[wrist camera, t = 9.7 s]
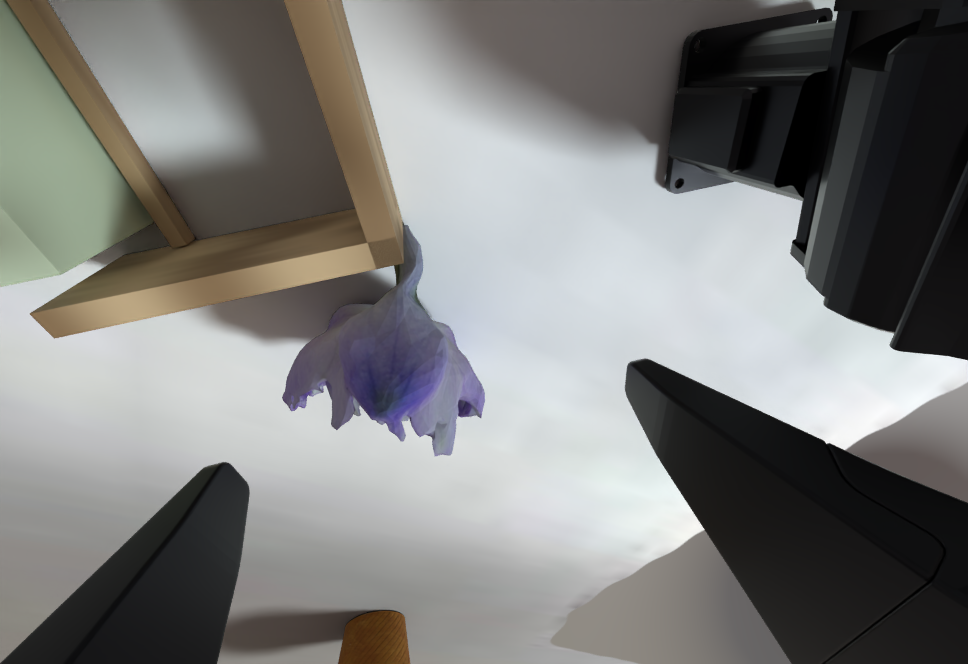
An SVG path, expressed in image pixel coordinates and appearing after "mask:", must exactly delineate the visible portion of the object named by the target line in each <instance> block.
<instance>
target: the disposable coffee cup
mask: <svg viewBox="0 0 968 664" xmlns="http://www.w3.org/2000/svg"><path fill="white" fill-rule="evenodd" d="M338 664H410V658H409V650H408V641H407V632H406V624H405V617H404V616H403V615H402V614H400V613H398V612H394V611H377V612H371V613H366V614H363V615H361V616H358V617H356V618H354V619H353V620H351V621H350V622H349V623H348V624H347V625H346V627H345V632H344V637H343V642H342V647H341V652H340V657H339V662H338Z"/></svg>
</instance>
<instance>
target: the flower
mask: <svg viewBox="0 0 968 664" xmlns="http://www.w3.org/2000/svg"><path fill="white" fill-rule="evenodd" d="M403 254H404V263H403V264H398V265H394V268H395V273H396V286H395V287H394V288H393V289H391V290H390V291H388V292H387V293H386V294H385V295H384V296H383V297H382V298H381V299H380V300H379V301H378V302H377V303H376V304H375V305H370V304H348V305H345V306H343V307H340V308H339V309H338V310H337V311H336V312H335V313H334V315H333V316H332V318H331V320H330V322H329V326H328V329H327V331H326V332H325V333H323V334H321V335H320V336H318V337H316V338H314V339H313V340H312V341H310V342H309V343H307V344H306V345H305V346H304V348H303V349H302V350H301V351H300V352H299V354H298V355H297V357H296V359H295V361H294V363H293V365H292V367H291V370H290V372H289V374H288V377H287V381H286V389H285V392H284V394H283V397H282V398H283V401H284V402H285V403H286V404H287V405H288V407H289V408H290V410H291V411H295V410H296V409H297V408H298V406H299V407H302V408H305V406H306V401H307V396H308V395H309V396H314V395H316V394H319V393H322V392H323V386H325V385H326V386H327V389H328V391H329V394H330V397H331V399H332V421H331V425H332V427H334V428H335V429H336V430H338V429H339V428H340V427H341V426H342V425H343V424H345V423H346V422H348V421H349V420H350V419H351V417H352V416H353V414H354V415H356V416H360V415H361V414H360V409H359V406H361V407H362V408H363V409H364V411H365V412H366V413H367V414H368V415H369V417H370V418H371V419H372V420H376V421H377V423H379V424H381V425H383V424H384V423H386V424H387V426H388V428H389V431H391V432H392V433H394V434H395V435H396V436H397V437H398V438H399V439H400V441H404V439H405V436H406V435H405V432H404V428H403V425H402V422H401V421H408V419H409V418H410V421H411V424H412V427H413V429H414V430H415V432H416V434H417V435H418V436H420V437H421V436H423V435H428V436H431V437H432V438H433V440H432V445H433V449H434V454H435V456H438V455H442V454H443V455H451V454H452V450H453V445H454V439H455V432H456V419H457V416H459V417H469V416H475V415H477V416H478V417H480V418H481V416H482V411H483V406H484V402H485V393H484V389H483V387H482V384H481V383H480V381H479V380H478V378H477V376H476V375H475V373H474V371H473V369H472V367H471V365H470V363H469V361H468V360H467V358H466V357H465V356H464V355H463V354H462V353H461V351H460V350H459V349H458V347H457V345H456V341H455V338H454V334H453V332H452V330H451V329H450V327H449V326H447V325H445V324H443V323H440V322H436V321H433V320H431V319H430V317H429V316H428V314H427V313H426V311H425V310H424V308H423V307H422V305H421V304H420V302H419V300H418V298H417V293H416V290H417V285H418V283H419V280H420V278H421V275H422V271H423V259H422V252H421V247H420V244H419V243H418V241H417V240H416V239H415V237H414V236H413V234H412V233H411V231H410V229H409V226H408V225H404V226H403Z"/></svg>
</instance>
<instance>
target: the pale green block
mask: <svg viewBox="0 0 968 664" xmlns="http://www.w3.org/2000/svg"><path fill="white" fill-rule="evenodd" d="M152 223H154V220H153V219H152V217H151V216H150V214H149V213H148V211H147V210H146V208H145V207H144V205H143V204H142V202H141V201H140V199H139V198H138V196H137V195H136V193H135V192H134V190H133V189H132V187H131V186H130V184H129V183H128V181H127V180H126V178H125V177H124V175H123V174H122V172H121V171H120V169H119V168H118V166H117V165H116V163H115V162H114V160H113V159H112V158H111V156H110V155H109V153H108V152H107V150H106V149H105V147H104V146H103V144H102V143H101V141H100V140H99V138H98V137H97V135H96V134H95V132H94V131H93V129H92V128H91V126H90V125H89V123H88V122H87V120H86V119H85V117H84V116H83V114H82V113H81V111H80V110H79V108H78V107H77V105H76V104H75V102H74V101H73V99H72V98H71V96H70V95H69V93H68V92H67V90H66V89H65V87H64V86H63V84H62V83H61V81H60V80H59V78H58V77H57V75H56V74H55V72H54V71H53V69H52V68H51V66H50V65H49V63H48V62H47V61H46V59H45V58H44V56H43V55H42V53H41V52H40V50H39V49H38V47H37V46H36V44H35V43H34V41H33V40H32V38H31V37H30V35H29V34H28V32H27V31H26V29H25V28H24V26H23V25H22V23H21V22H20V20H19V19H18V17H17V16H16V14H15V13H14V11H13V10H12V8H11V7H10V5H9V4H8V2H7V1H6V0H0V287H3V286H8V285H13V284H17V283H22V282H27V281H32V280H37V279H42V278H47V277H52V276H57V275H61V274H63V273H65V272H67V271H68V270H70V269H72V268H74V267H76V266H77V265H79V264H81V263H83V262H84V261H86V260H88V259H90V258H92V257H93V256H95V255H97V254H99V253H100V252H102V251H104V250H106V249H108V248H109V247H111V246H113V245H115V244H116V243H118V242H120V241H122V240H123V239H125V238H127V237H129V236H131V235H132V234H134V233H136V232H138V231H139V230H141V229H143V228H145V227H147V226H148V225H150V224H152Z"/></svg>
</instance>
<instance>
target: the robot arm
mask: <svg viewBox="0 0 968 664" xmlns="http://www.w3.org/2000/svg"><path fill="white" fill-rule="evenodd" d="M834 11H838V14H837V19H836V20H835V21H832V17H833V14H832V11H831V9H830V8H822V9H816V10H811V11H805V12H800V13H794V14H789V15H783V16H777V17H772V18H766V19H761V20H755V21H750V22H744V23H738V24H733V25H727V26H722V27H716V28H711V29H705V30H699V31H695V32H693V33H691V34H690V35H689V36H688V37H687V39H686V41H685V43H684V47H683V53H682V60H681V68H680V75H679V83H678V91H677V94H676V96H675V103H674V111H673V119H672V126H671V134H670V142H669V150H668V154H669V159H668V167H667V175H666V182H665V187H666V189H667V191H669V192H671V193H674V194H679V193H683V192H688V191H693V190H698V189H702V188H707V187H712V186H716V185H721V184H726V183H730V182H739V183H742V184H746V185H749V186H753V187H756V188H760V189H763V190H766V191H770V192H773V193H777V194H780V195H784V196H787V197H791V198H794V199H798V200H801V201H803V203H802V209H801V214H800V220H799V225H798V231H797V236H796V239H795V240H793V241H792V246H791V252H790V254H791V255H792V256H793V257H794V258H795V259H796V260H797V261H798V262H799V263H800V264H801V265H802V266H803V267H804V268H805V274H806V279H807V280H808V281H809V282H810V283H811V284H812V285H813V286H814V287H815V288H816V290H817V291H818V292H819V293H820V294H821V295H823V296H824V297H825V298H824V305H825V306H826V307H827V308H828V309H830V310H832V311H834V312H836V313H838V314H840V315H842V316H844V317H846V318H848V319H850V320H852V321H854V322H857V323H860V324H863V325H866V326H868V327H871V328H874V329H877V330H881V331H885V332H889V333H894V336H893V338H892V340H891V343H890V347H891V348H893V349H894V350H897V351H903V352H913V353H923V354H933V355H943V356H950V357H955V358H960V359H965V360H968V0H835V6H834ZM817 20H818V23H816V22H817ZM697 40H699V41H700V46H699V49H698V50H697V52H696V51H695V44H696V42H697ZM677 179H679V183H678V184H677V186H675V182H676V181H677ZM625 392H626V395H627V398H628V400H629V402H630V404H631V406H632V408H633V410H634V412H635V414H636V416H637V418H638V420H639V422H640V424H641V426H642V428H643V430H644V432H645V434H646V436H647V438H648V440H649V442H650V444H651V446H652V447H653V449H654V451H655V453H656V455H657V457H658V458H659V460H660V461H661V463H662V465H663V466H664V468H665V469H666V471H667V472H668V474H669V475H670V477H671V479H672V480H673V482H674V483H675V485H676V486H677V488H678V489H679V491H680V492H681V494H682V496H683V497H684V499H685V500H686V502H687V503H688V505H689V506H690V508H691V509H692V511H693V512H694V514H695V516H696V517H697V519H698V520H699V522H700V523H701V525H702V526H703V528H704V529H705V531H706V532H707V534H708V535H709V537H710V539H711V540H712V542H713V543H714V545H715V546H716V548H717V550H718V551H719V553H720V554H721V556H722V557H723V559H724V560H725V562H726V563H727V565H728V566H729V568H730V569H731V571H732V573H733V574H734V576H735V577H736V579H737V580H738V582H739V583H740V585H741V587H742V588H743V589H744V591H745V593H746V594H747V596H748V597H749V599H750V600H751V602H752V603H753V605H754V607H755V608H756V610H757V611H758V613H759V614H760V616H761V617H762V619H763V620H764V622H765V624H766V625H767V627H768V628H769V630H770V631H771V633H772V634H773V636H774V637H775V639H776V640H777V642H778V644H779V645H780V647H781V648H782V650H783V651H784V653H785V654H786V656H787V658H788V659H789V661H790V662H791V664H968V503H967V502H965V501H962V500H960V499H957V498H955V497H952V496H950V495H947V494H944V493H942V492H940V491H937V490H935V489H932V488H930V487H928V486H925V485H923V484H920V483H918V482H916V481H913V480H911V479H908V478H906V477H904V476H901V475H899V474H896V473H894V472H892V471H890V470H887V469H885V468H883V467H880V466H878V465H876V464H874V463H872V462H869V461H867V460H865V459H863V458H861V457H858V456H856V455H854V454H852V453H849V452H847V451H845V450H843V449H841V448H839V447H837V446H835V445H832V444H830V443H828V444H826V443H825V441H823V440H821V439H819V438H817V437H815V436H813V435H811V434H808V433H806V432H804V431H802V430H800V429H798V428H796V427H793V426H791V425H789V424H787V423H785V422H783V421H781V420H778V419H776V418H774V417H772V416H770V415H768V414H765V413H763V412H761V411H759V410H757V409H755V408H753V407H750V406H748V405H746V404H744V403H742V402H740V401H738V400H735V399H733V398H731V397H729V396H727V395H725V394H723V393H720V392H718V391H716V390H714V389H712V388H710V387H707V386H705V385H703V384H701V383H699V382H697V381H695V380H692V379H690V378H688V377H686V376H684V375H682V374H680V373H677V372H675V371H673V370H671V369H669V368H667V367H665V366H662V365H660V364H658V363H656V362H654V361H652V360H649V359H640V360H636V361H632V362H630V363H629V364H628V365H627V373H626V382H625ZM249 494H250V492H249V486H248V484H247V482H246V481H245V480H244V479H243V477H242V476H241V475H240V474H239V473H238V472H237V471H236V470H235V468H234V467H233V466H232V465H231V464H229V463H227V462H222V463H218V464H214V465H210V466H207V467H205V468H203V469H202V470H201V471H200V472H199V473H198V474H197V475H196V476H194V477H193V478H192V479H191V480H190V481H189V482H188V483H187V484H186V485H185V486H184V487H183V488H182V489H181V490H180V491H179V492H178V493H177V494H176V495H175V496H174V497H173V498H172V499H171V500H170V501H168V502H167V503H166V504H165V505H164V506H163V507H162V508H161V509H160V510H159V511H158V512H157V513H156V514H155V515H154V516H153V517H152V518H151V519H150V520H149V521H148V522H147V523H146V524H145V525H144V526H143V527H141V528H140V529H139V530H138V531H137V532H136V533H135V534H134V535H133V536H132V537H131V538H130V539H129V540H128V541H127V542H126V543H125V544H124V545H123V546H122V547H121V548H120V549H119V550H118V551H117V552H115V553H114V554H113V555H112V556H111V557H110V558H109V559H108V560H107V561H106V562H105V563H104V564H103V565H102V566H101V567H100V568H99V569H98V570H97V571H96V572H95V573H94V574H93V575H92V576H91V577H89V578H88V579H87V580H86V581H85V582H84V583H83V584H82V585H81V586H80V587H79V588H78V589H77V590H76V591H75V592H74V593H73V594H72V595H71V596H70V597H69V598H68V599H67V600H66V601H65V602H63V603H62V604H61V605H60V606H59V607H58V608H57V609H56V610H55V611H54V612H53V613H52V614H51V615H50V616H49V617H48V618H47V619H46V620H45V621H44V622H43V623H42V624H41V625H40V626H39V627H37V628H36V629H35V630H34V631H33V632H32V633H31V634H30V635H29V636H28V637H27V638H26V639H25V640H24V641H23V642H22V643H21V644H20V645H19V646H18V647H17V648H16V649H15V650H14V651H13V652H11V653H10V654H9V655H8V656H7V657H6V658H5V659H4V660H3V661H2V662H1V663H0V664H217V661H218V657H219V653H220V649H221V645H222V640H223V636H224V632H225V628H226V623H227V619H228V615H229V611H230V607H231V602H232V598H233V594H234V590H235V585H236V581H237V577H238V572H239V567H240V561H241V555H242V548H243V541H244V533H245V525H246V518H247V510H248V502H249Z"/></svg>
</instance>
